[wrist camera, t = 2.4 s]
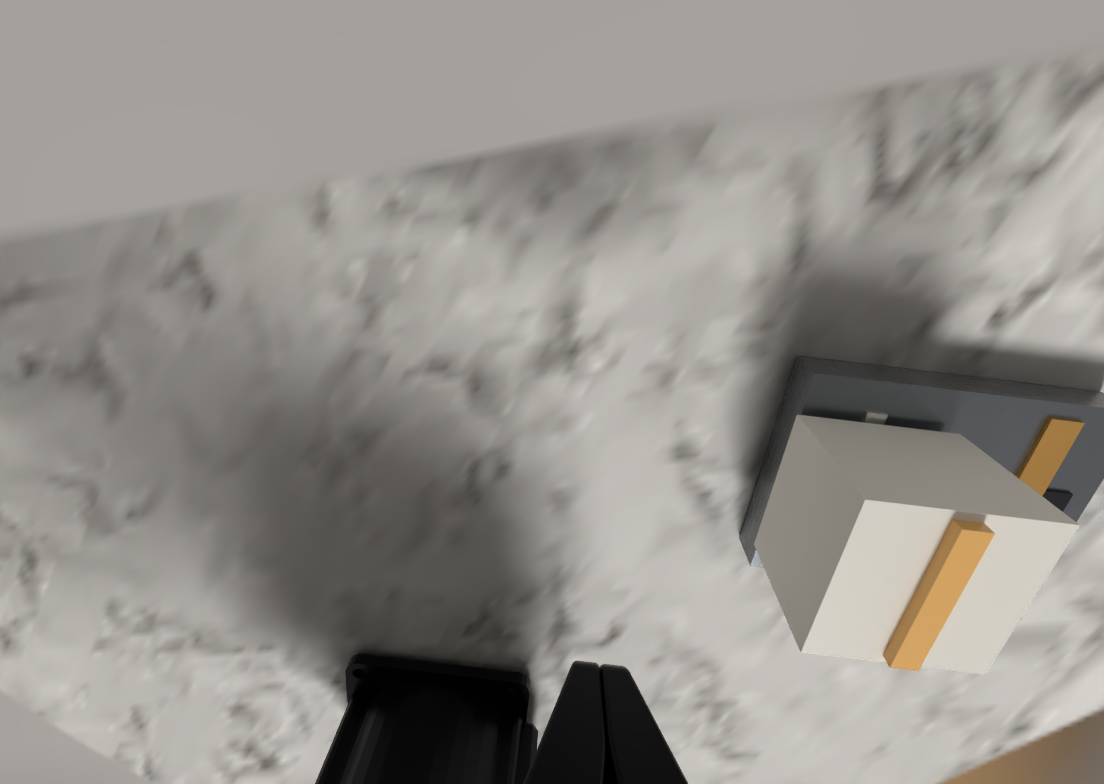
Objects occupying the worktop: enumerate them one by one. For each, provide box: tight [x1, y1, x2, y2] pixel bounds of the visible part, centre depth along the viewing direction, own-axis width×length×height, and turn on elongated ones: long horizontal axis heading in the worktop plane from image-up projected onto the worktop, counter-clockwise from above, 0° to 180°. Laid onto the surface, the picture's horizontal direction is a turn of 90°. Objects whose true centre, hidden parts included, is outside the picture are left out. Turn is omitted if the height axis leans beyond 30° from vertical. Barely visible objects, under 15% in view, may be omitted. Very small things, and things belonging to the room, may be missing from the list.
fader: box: [754, 415, 1080, 675], centre depth 12 cm, size 4×4×4 cm
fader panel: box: [739, 356, 1104, 567], centre depth 15 cm, size 8×6×1 cm
